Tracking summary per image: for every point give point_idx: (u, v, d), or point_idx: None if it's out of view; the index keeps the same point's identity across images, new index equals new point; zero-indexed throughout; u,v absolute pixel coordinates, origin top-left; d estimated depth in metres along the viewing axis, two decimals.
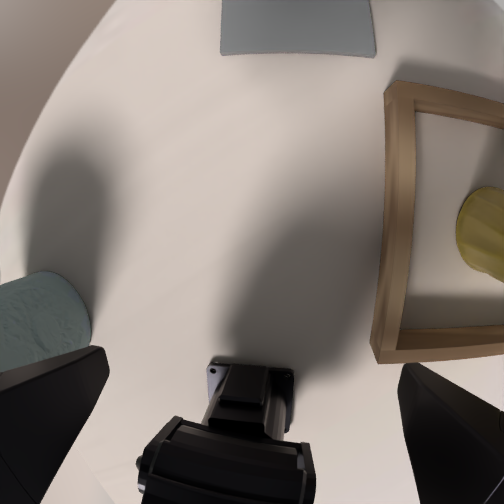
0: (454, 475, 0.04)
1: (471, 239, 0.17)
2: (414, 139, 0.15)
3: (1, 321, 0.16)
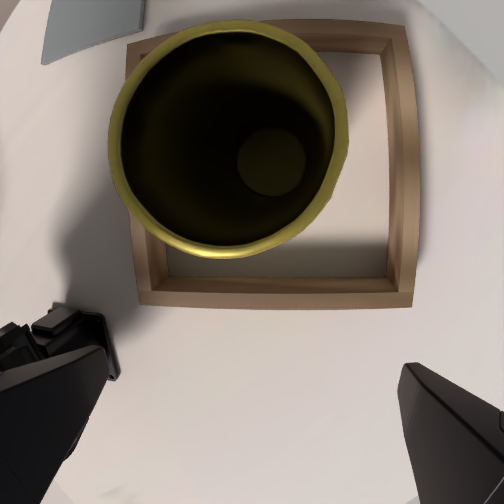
0: (454, 475, 0.04)
1: None
2: None
3: None
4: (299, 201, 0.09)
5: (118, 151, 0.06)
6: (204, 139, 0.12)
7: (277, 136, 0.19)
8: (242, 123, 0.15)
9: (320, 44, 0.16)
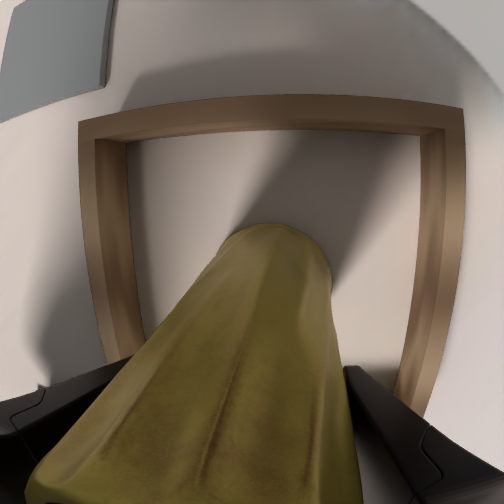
0: (373, 489, 0.04)
1: None
2: (95, 190, 0.13)
3: None
4: None
5: None
6: None
7: None
8: None
9: (343, 126, 0.13)
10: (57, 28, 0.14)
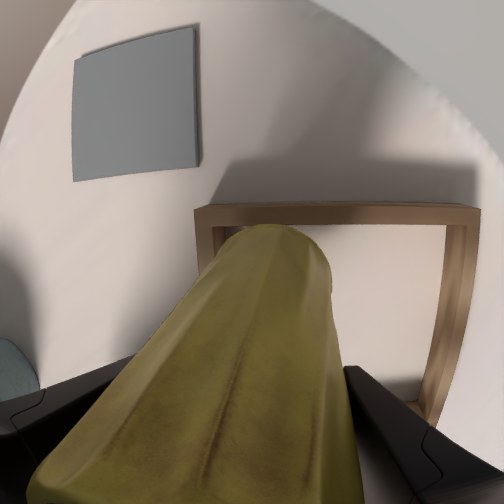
0: (373, 489, 0.04)
1: None
2: None
3: None
4: None
5: None
6: None
7: None
8: None
9: None
10: (137, 97, 0.19)
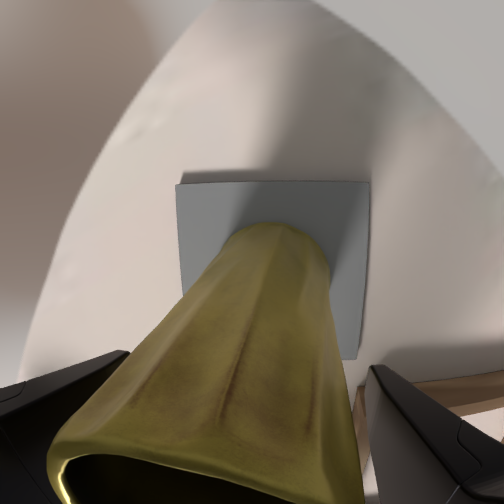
0: (409, 484, 0.04)
1: None
2: (368, 452, 0.16)
3: None
4: None
5: None
6: None
7: None
8: None
9: None
10: None
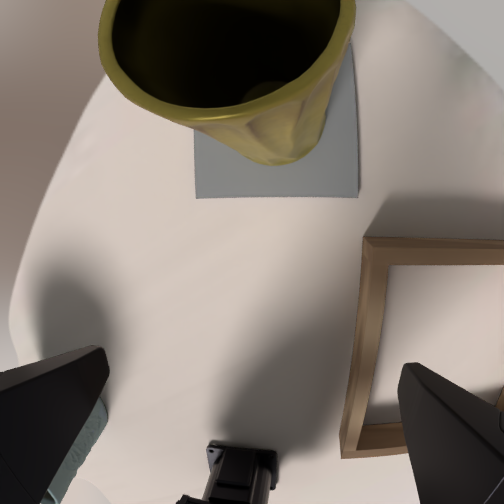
0: (454, 475, 0.04)
1: None
2: (383, 304, 0.18)
3: None
4: None
5: (109, 27, 0.05)
6: (203, 69, 0.11)
7: None
8: (244, 67, 0.14)
9: None
10: None
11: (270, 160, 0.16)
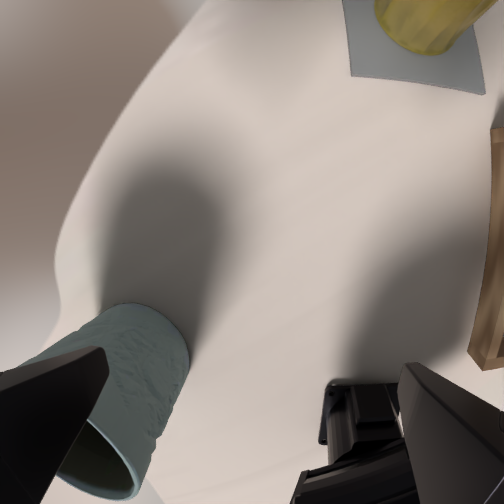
0: (454, 475, 0.04)
1: (386, 5, 0.14)
2: None
3: (112, 379, 0.15)
4: None
5: None
6: None
7: None
8: None
9: None
10: None
11: (436, 38, 0.13)
